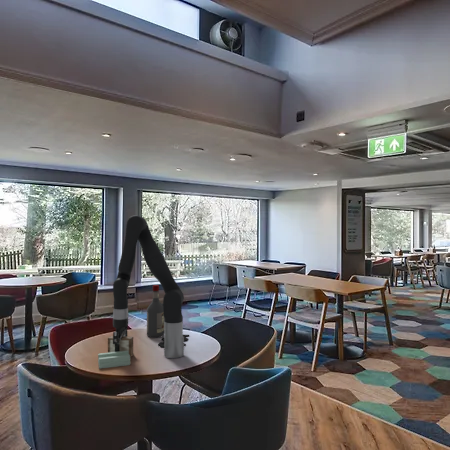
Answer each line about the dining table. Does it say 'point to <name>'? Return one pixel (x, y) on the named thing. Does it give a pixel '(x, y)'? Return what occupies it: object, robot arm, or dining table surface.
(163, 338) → the figurine
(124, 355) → the picture ledge
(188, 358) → the dining table surface
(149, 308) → the liquor
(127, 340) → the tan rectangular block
